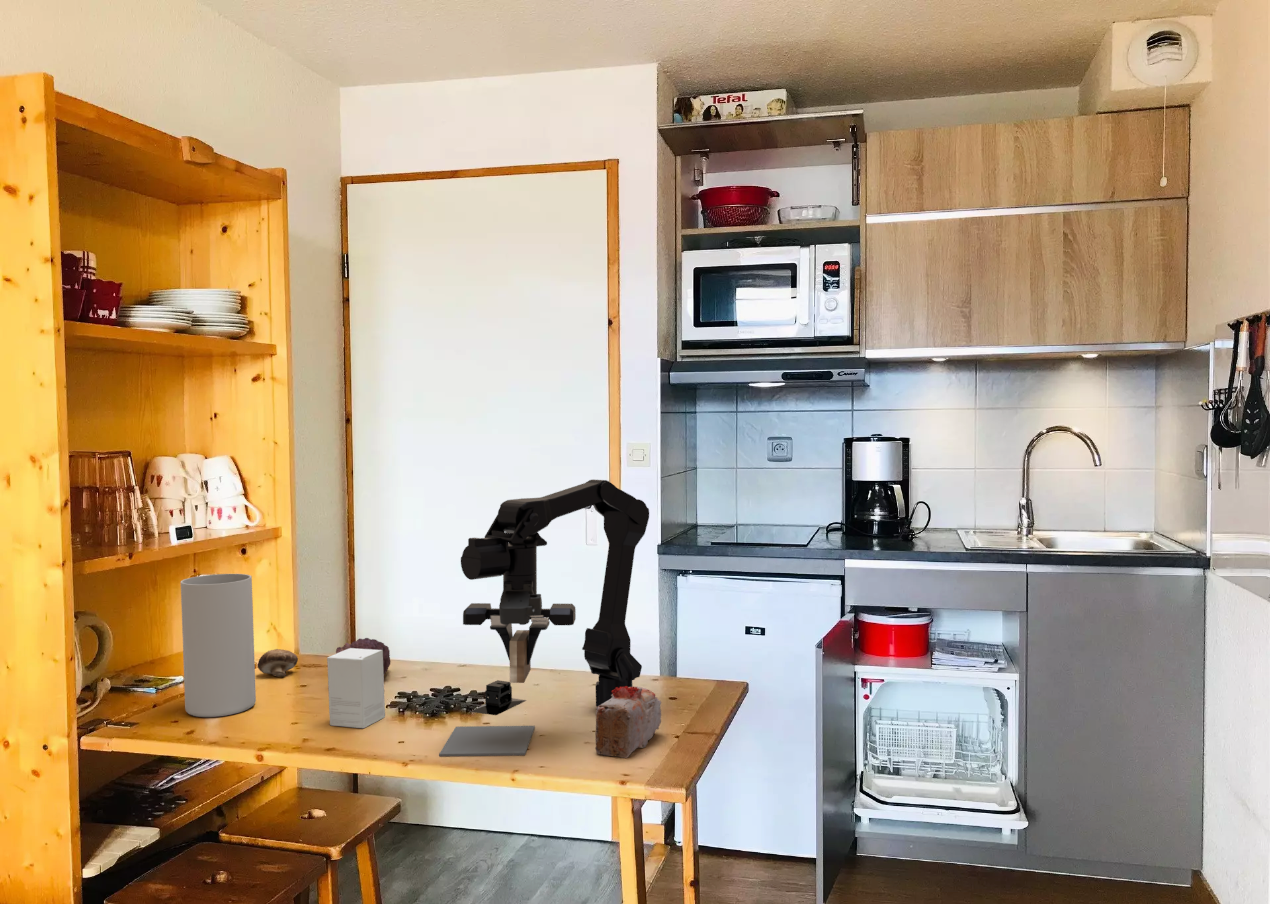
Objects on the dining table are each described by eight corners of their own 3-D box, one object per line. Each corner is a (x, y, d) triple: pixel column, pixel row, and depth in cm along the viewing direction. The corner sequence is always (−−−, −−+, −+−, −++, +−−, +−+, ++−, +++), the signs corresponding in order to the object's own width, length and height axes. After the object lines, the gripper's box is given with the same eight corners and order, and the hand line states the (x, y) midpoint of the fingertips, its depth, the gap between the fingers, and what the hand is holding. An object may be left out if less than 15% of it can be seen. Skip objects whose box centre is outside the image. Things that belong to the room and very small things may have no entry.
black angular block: (495, 720, 181) (494, 694, 181) (460, 715, 185) (460, 690, 185) (534, 701, 193) (533, 676, 193) (501, 697, 197) (500, 672, 197)
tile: (530, 669, 175) (530, 630, 174) (524, 682, 166) (523, 641, 165) (516, 669, 175) (516, 630, 174) (509, 682, 166) (509, 641, 165)
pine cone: (361, 668, 218) (386, 630, 218) (392, 695, 214) (417, 656, 214) (312, 667, 202) (338, 625, 202) (344, 695, 198) (372, 653, 198)
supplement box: (386, 717, 183) (384, 649, 183) (363, 729, 176) (361, 659, 176) (352, 713, 186) (350, 646, 185) (327, 725, 179) (325, 656, 178)
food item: (621, 729, 174) (620, 674, 173) (664, 734, 171) (663, 677, 171) (590, 755, 161) (589, 695, 161) (636, 760, 158) (635, 699, 158)
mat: (534, 727, 175) (534, 725, 175) (524, 755, 161) (524, 752, 161) (455, 728, 176) (455, 726, 176) (439, 756, 162) (439, 753, 162)
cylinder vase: (261, 711, 188) (257, 580, 187) (189, 722, 182) (184, 587, 181) (249, 695, 199) (245, 571, 198) (181, 705, 192) (176, 577, 191)
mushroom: (287, 666, 209) (282, 639, 212) (253, 681, 209) (248, 654, 212) (306, 675, 216) (301, 649, 219) (273, 689, 216) (269, 663, 219)
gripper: (456, 580, 162) (456, 675, 162) (570, 581, 162) (570, 676, 162) (468, 570, 173) (469, 659, 173) (575, 571, 173) (575, 660, 173)
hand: (520, 664), depth 170 cm, fingers closed on tile, 2 cm apart
